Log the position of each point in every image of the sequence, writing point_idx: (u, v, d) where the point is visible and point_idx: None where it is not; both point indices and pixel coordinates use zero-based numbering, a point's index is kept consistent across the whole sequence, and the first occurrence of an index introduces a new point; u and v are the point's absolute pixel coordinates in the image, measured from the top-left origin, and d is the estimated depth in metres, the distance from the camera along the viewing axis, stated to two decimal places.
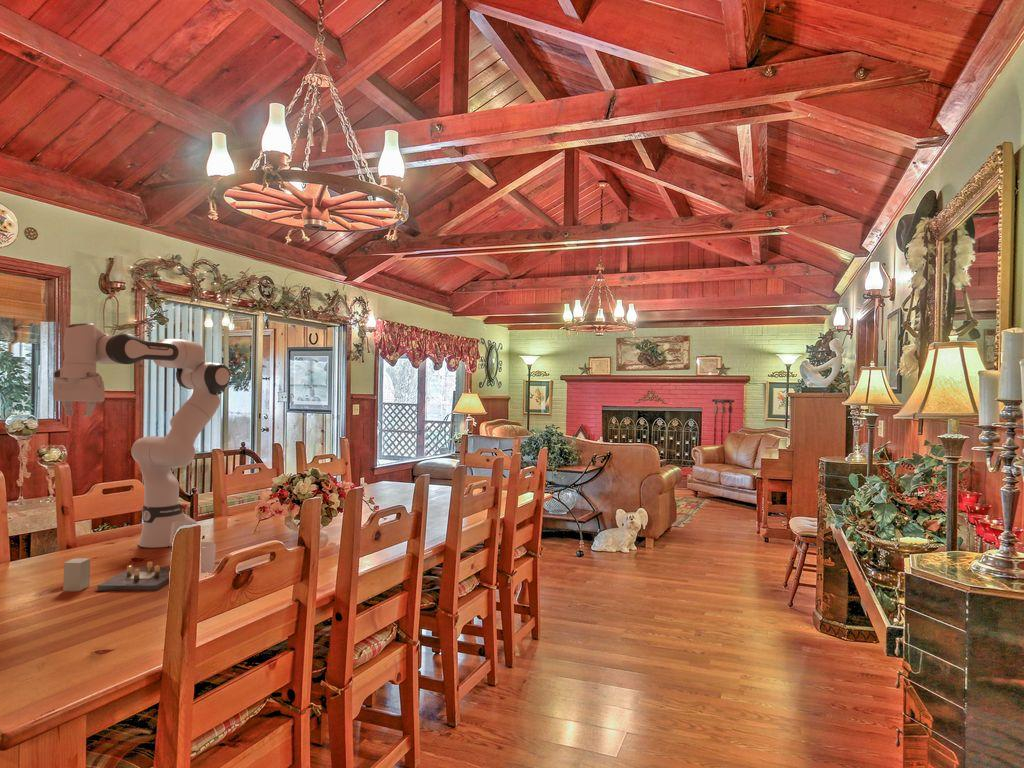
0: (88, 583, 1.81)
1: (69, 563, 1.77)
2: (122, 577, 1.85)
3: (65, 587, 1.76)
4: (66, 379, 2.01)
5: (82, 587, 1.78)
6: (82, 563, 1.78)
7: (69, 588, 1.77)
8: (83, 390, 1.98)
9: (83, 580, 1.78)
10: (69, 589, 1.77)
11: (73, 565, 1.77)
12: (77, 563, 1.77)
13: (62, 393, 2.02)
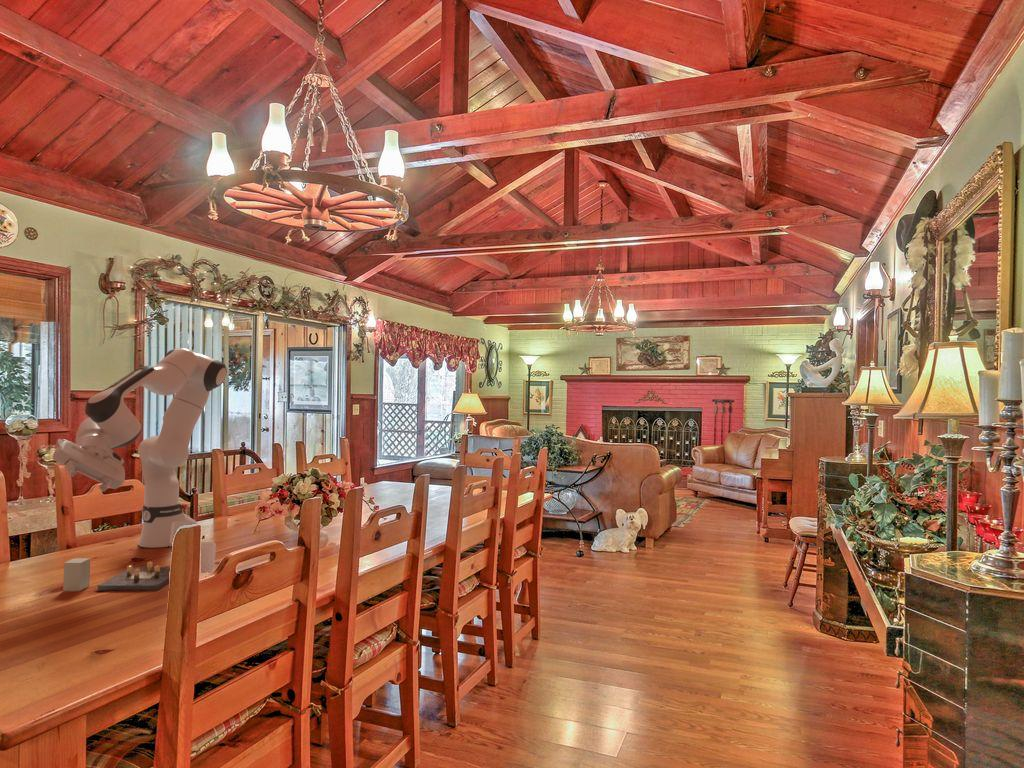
0: (88, 583, 1.81)
1: (69, 563, 1.77)
2: (122, 577, 1.85)
3: (65, 587, 1.76)
4: None
5: (82, 587, 1.78)
6: (82, 563, 1.78)
7: (69, 588, 1.77)
8: None
9: (83, 580, 1.78)
10: (69, 589, 1.77)
11: (73, 565, 1.77)
12: (77, 563, 1.77)
13: None
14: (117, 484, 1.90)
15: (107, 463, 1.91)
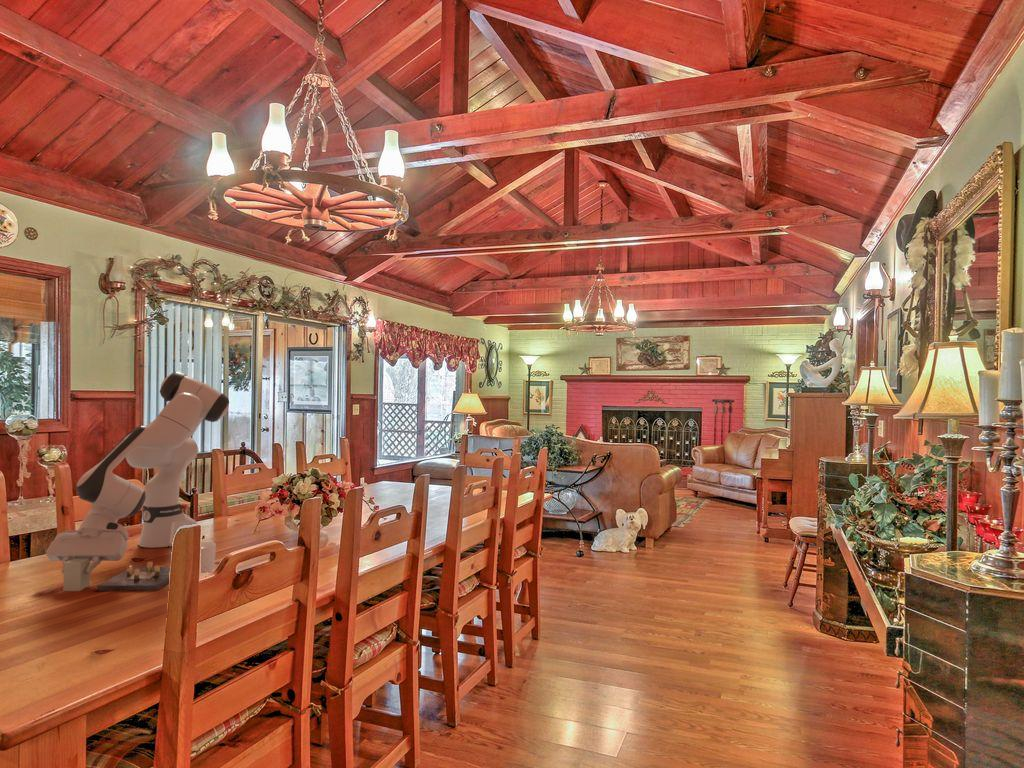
0: (88, 583, 1.81)
1: (69, 563, 1.77)
2: (122, 577, 1.85)
3: (65, 587, 1.76)
4: None
5: (82, 587, 1.78)
6: (82, 563, 1.78)
7: (69, 588, 1.77)
8: None
9: (83, 580, 1.78)
10: (69, 589, 1.77)
11: (73, 565, 1.77)
12: (77, 563, 1.77)
13: None
14: (114, 558, 1.82)
15: (103, 538, 1.85)
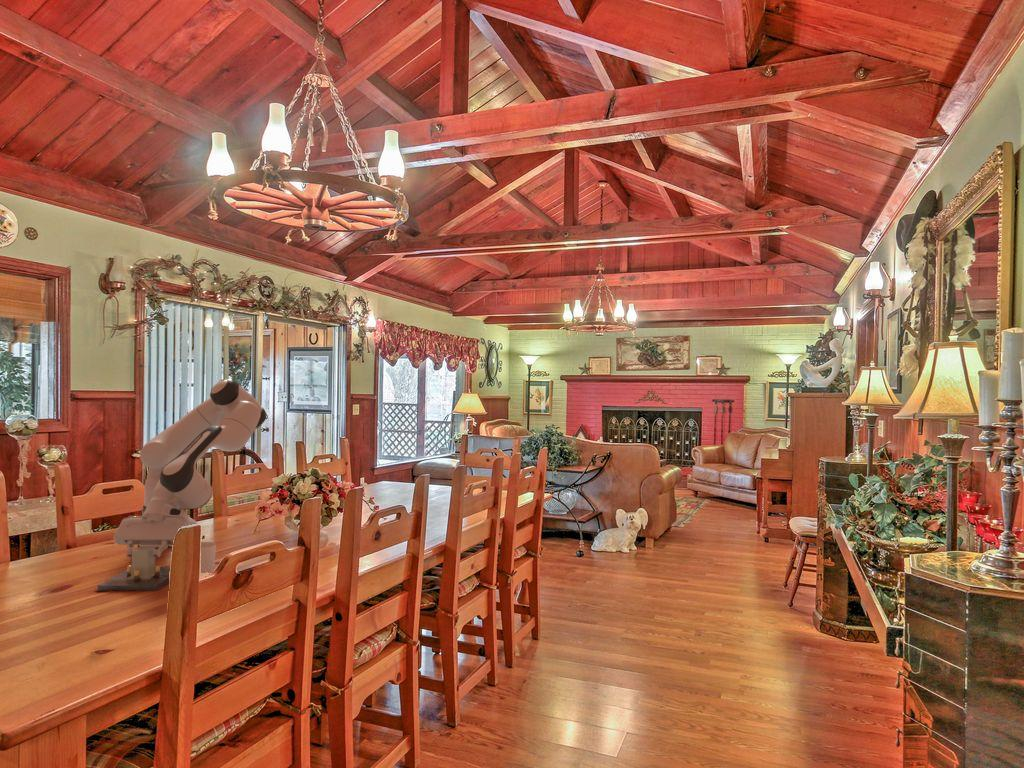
0: None
1: (137, 551, 1.85)
2: (122, 577, 1.85)
3: (133, 574, 1.85)
4: None
5: (149, 574, 1.86)
6: (149, 551, 1.86)
7: None
8: None
9: (149, 567, 1.86)
10: None
11: (141, 552, 1.85)
12: (144, 551, 1.85)
13: None
14: None
15: (167, 523, 1.93)
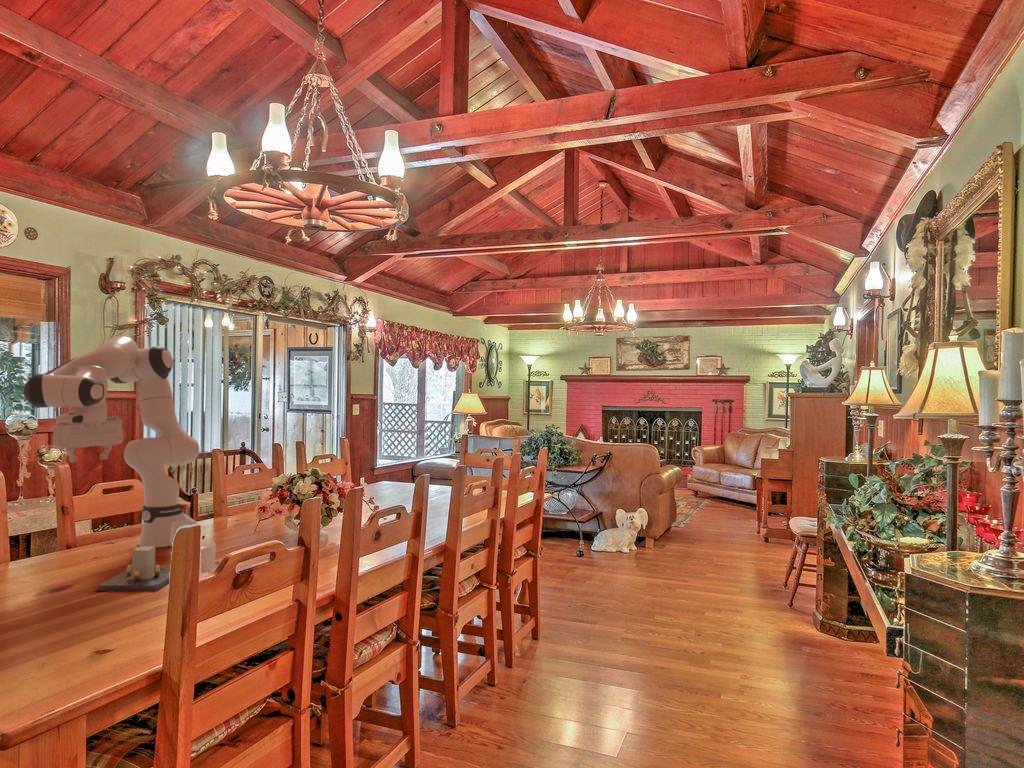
0: None
1: (137, 551, 1.85)
2: (122, 577, 1.85)
3: (133, 574, 1.85)
4: (84, 424, 1.93)
5: (149, 574, 1.86)
6: (149, 551, 1.86)
7: None
8: (109, 433, 2.01)
9: (149, 567, 1.86)
10: None
11: (141, 552, 1.85)
12: (144, 551, 1.85)
13: (76, 439, 1.92)
14: None
15: None
